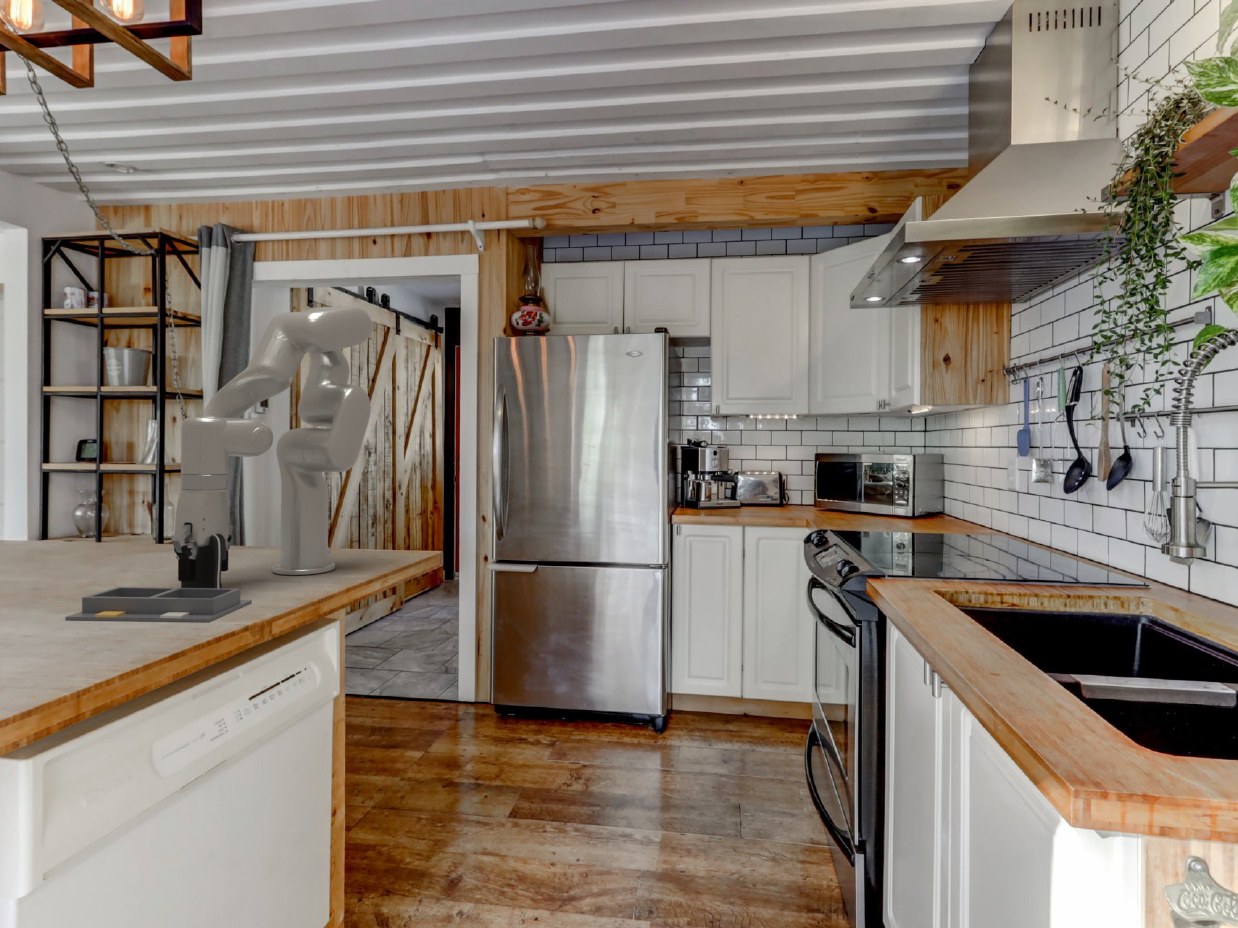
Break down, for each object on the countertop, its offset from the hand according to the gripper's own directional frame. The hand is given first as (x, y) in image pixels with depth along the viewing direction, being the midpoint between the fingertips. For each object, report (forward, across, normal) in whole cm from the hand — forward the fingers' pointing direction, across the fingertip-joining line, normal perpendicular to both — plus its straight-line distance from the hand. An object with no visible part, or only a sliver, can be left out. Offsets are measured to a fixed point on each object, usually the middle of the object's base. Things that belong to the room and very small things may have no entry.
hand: (204, 575), depth 124 cm
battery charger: (+4, 0, 0) cm, 4 cm away
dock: (+3, +13, +1) cm, 13 cm away
